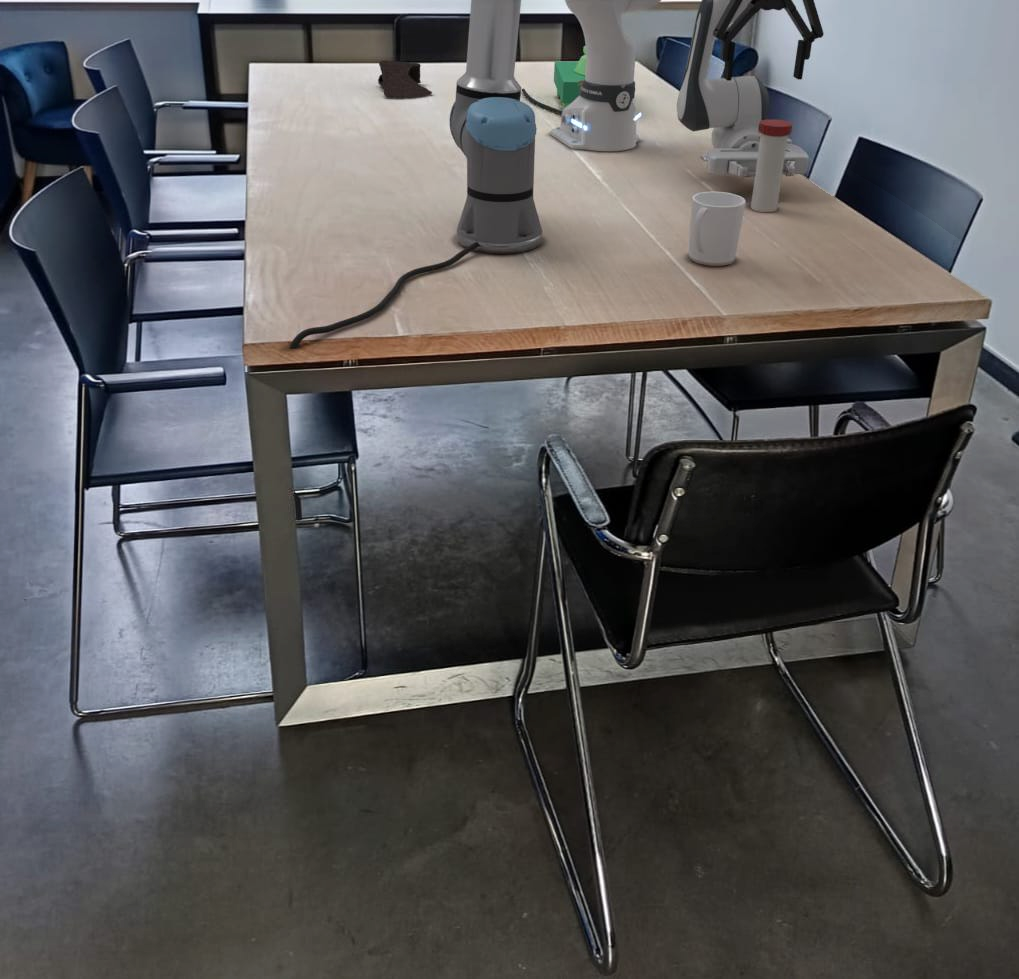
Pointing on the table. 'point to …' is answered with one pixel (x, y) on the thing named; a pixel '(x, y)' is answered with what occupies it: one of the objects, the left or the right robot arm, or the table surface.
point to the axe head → (401, 79)
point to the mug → (715, 227)
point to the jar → (768, 173)
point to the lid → (775, 127)
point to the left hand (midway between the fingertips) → (762, 78)
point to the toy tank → (569, 79)
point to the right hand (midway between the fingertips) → (767, 172)
